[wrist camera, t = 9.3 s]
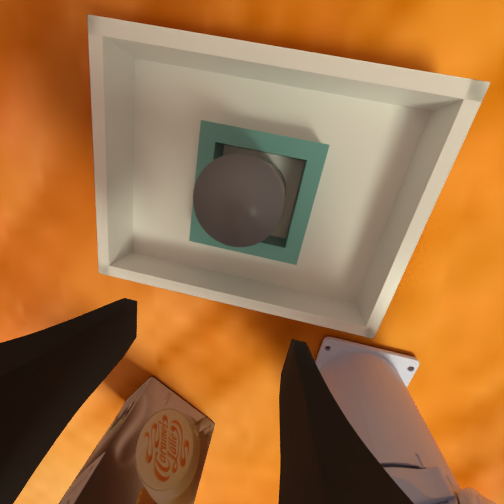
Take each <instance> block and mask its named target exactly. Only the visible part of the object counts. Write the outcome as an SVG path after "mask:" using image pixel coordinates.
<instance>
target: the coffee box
mask: <svg viewBox="0 0 504 504" xmlns="http://www.w3.org/2000/svg"><path fill="white" fill-rule="evenodd" d="M214 425H215V424H214V423H213V422H212V421H211V420H209V419H208V418H207V417H205V416H204V415H203V414H201V413H200V412H199V411H197V410H196V409H195V408H193V407H192V406H191V405H190V404H188V403H187V402H186V401H184V400H183V399H182V398H180V397H179V396H178V395H176V394H175V393H174V392H172V391H171V390H170V389H168V388H167V387H166V386H164V385H163V384H162V383H160V382H159V381H158V380H157V379H155V378H154V377H150V378H149V379H148V380H147V381H146V382H145V383H144V384H142V385H141V386H140V387H139V388H138V389H137V390H136V391H135V392H134V393H133V394H132V395H131V396H130V397H129V398H128V399H127V400H126V401H125V403H124V405H123V407H122V408H121V410H120V412H119V413H118V415H117V416H116V418H115V420H114V421H113V423H112V424H111V426H110V427H109V429H108V430H107V432H106V433H105V435H104V436H103V438H102V439H101V441H100V442H99V443H98V445H97V446H96V448H95V449H94V451H93V452H92V454H91V455H90V457H89V459H88V460H87V462H86V463H85V465H84V466H83V468H82V469H81V471H80V472H79V474H78V475H77V477H76V478H75V480H74V481H73V483H72V484H71V486H70V487H69V489H68V490H67V492H66V493H65V495H64V496H63V498H62V500H61V501H60V503H59V504H194V501H195V497H196V493H197V489H198V486H199V482H200V478H201V475H202V471H203V467H204V463H205V459H206V455H207V452H208V448H209V444H210V441H211V437H212V433H213V430H214Z"/></svg>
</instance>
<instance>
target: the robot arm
mask: <svg viewBox="0 0 504 504" xmlns="http://www.w3.org/2000/svg"><path fill="white" fill-rule="evenodd" d="M136 332H137V301H134V300H130V299H126V298H124V299H121V300H118V301H115V302H113V303H110V304H108V305H106V306H103V307H101V308H98V309H96V310H93V311H91V312H88V313H86V314H84V315H81V316H79V317H76V318H74V319H71V320H68V321H66V322H63V323H60V324H58V325H55V326H52V327H50V328H47V329H44V330H41V331H38V332H35V333H32V334H29V335H26V336H23V337H19V338H16V339H13V340H9V341H6V342H2V343H0V504H13V503H14V501H15V500H16V498H17V497H18V495H19V494H20V492H21V491H22V489H23V488H24V486H25V485H26V483H27V482H28V480H29V479H30V477H31V476H32V474H33V473H34V471H35V470H36V468H37V467H38V465H39V464H40V462H41V461H42V459H43V458H44V457H45V455H46V454H47V452H48V451H49V449H50V448H51V446H52V445H53V444H54V442H55V441H56V439H57V438H58V436H59V435H60V434H61V432H62V431H63V430H64V428H65V427H66V425H67V424H68V423H69V421H70V420H71V419H72V417H73V416H74V414H75V413H76V412H77V411H78V409H79V408H80V407H81V406H82V404H83V403H84V402H85V401H86V400H87V399H88V397H89V396H90V395H91V394H92V393H93V392H94V390H95V389H96V388H97V387H98V386H99V385H100V383H101V382H102V381H103V380H104V379H105V378H106V377H107V375H108V374H109V373H110V372H111V371H112V369H113V368H114V367H115V366H116V365H117V364H118V362H119V361H120V360H121V359H122V358H123V356H124V355H125V353H126V352H127V351H128V349H129V348H130V346H131V344H132V343H133V341H134V340H135V338H136ZM326 346H329V348H326ZM419 364H420V363H419V361H418V359H417V358H416V357H413V356H409V355H404V354H400V353H396V352H392V351H388V350H384V349H380V348H375V347H371V346H367V345H363V344H359V343H355V342H351V341H347V340H342V339H338V338H334V337H329V336H328V337H325V338H324V339H323V342H322V344H321V347H320V350H319V353H318V355H317V358H316V361H314V359H313V357H312V355H311V352H310V350H309V348H308V346H307V344H306V342H302V341H298V340H294V339H292V340H291V344H290V347H289V350H288V353H287V357H286V360H285V363H284V366H283V370H282V373H281V383H280V395H279V409H280V452H281V468H280V489H279V504H495V503H494V502H493V501H491V500H489V499H488V498H486V497H484V496H482V495H480V494H479V493H478V492H477V491H476V490H474V489H473V488H465V489H462V490H461V489H460V487H459V485H458V483H457V481H456V479H455V478H454V476H453V474H452V472H451V470H450V468H449V466H448V464H447V463H446V461H445V459H444V457H443V455H442V453H441V451H440V450H439V448H438V446H437V444H436V442H435V440H434V438H433V436H432V435H431V433H430V431H429V429H428V427H427V425H426V423H425V421H424V420H423V418H422V416H421V414H420V412H419V410H418V408H417V406H416V405H415V403H414V401H413V399H412V397H411V395H410V393H409V391H408V390H407V386H408V384H409V382H410V381H411V379H412V377H413V375H414V374H415V372H416V370H417V368H418V367H419ZM410 366H411V367H410ZM408 367H410V368H408Z"/></svg>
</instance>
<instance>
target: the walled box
mask: <svg viewBox="0 0 504 504" xmlns="http://www.w3.org/2000/svg"><path fill="white" fill-rule="evenodd" d="M87 20H88V42H89V64H90V86H91V108H92V130H93V152H94V174H95V196H96V218H97V241H98V263H99V273H101V274H105V275H109V276H113V277H117V278H122V279H126V280H130V281H134V282H138V283H142V284H147V285H151V286H155V287H159V288H163V289H167V290H172V291H176V292H180V293H184V294H188V295H193V296H197V297H201V298H205V299H209V300H213V301H218V302H222V303H226V304H230V305H234V306H238V307H243V308H247V309H251V310H255V311H259V312H264V313H268V314H272V315H276V316H280V317H284V318H289V319H293V320H297V321H301V322H305V323H309V324H314V325H318V326H322V327H326V328H330V329H334V330H339V331H343V332H347V333H351V334H355V335H360V336H364V337H368V338H372V339H374V337H375V335H376V333H377V330H378V328H379V326H380V324H381V322H382V319H383V317H384V315H385V313H386V311H387V308H388V306H389V304H390V302H391V300H392V297H393V295H394V293H395V291H396V289H397V287H398V284H399V282H400V280H401V278H402V276H403V273H404V271H405V269H406V267H407V265H408V262H409V260H410V258H411V256H412V254H413V251H414V249H415V247H416V245H417V243H418V240H419V238H420V236H421V234H422V232H423V229H424V227H425V225H426V223H427V221H428V218H429V216H430V214H431V212H432V210H433V208H434V205H435V203H436V201H437V199H438V197H439V194H440V192H441V190H442V188H443V186H444V183H445V181H446V179H447V177H448V175H449V172H450V170H451V168H452V166H453V164H454V161H455V159H456V157H457V155H458V153H459V150H460V148H461V146H462V144H463V142H464V140H465V137H466V135H467V133H468V131H469V129H470V126H471V124H472V122H473V120H474V118H475V115H476V113H477V111H478V109H479V107H480V104H481V102H482V100H483V98H484V96H485V93H486V91H487V89H488V87H489V85H490V82H485V81H479V80H473V79H468V78H462V77H456V76H450V75H444V74H438V73H432V72H426V71H420V70H414V69H408V68H403V67H397V66H391V65H385V64H379V63H373V62H367V61H361V60H355V59H349V58H343V57H338V56H332V55H326V54H320V53H314V52H308V51H302V50H296V49H290V48H284V47H278V46H272V45H267V44H261V43H255V42H249V41H243V40H237V39H231V38H225V37H219V36H213V35H207V34H202V33H196V32H190V31H184V30H178V29H172V28H166V27H160V26H154V25H148V24H142V23H136V22H131V21H125V20H119V19H113V18H107V17H101V16H95V15H89V14H87ZM229 154H244V155H249V156H252V157H255V158H259V159H262V160H265V161H268V162H270V163H272V164H273V165H275V166H276V167H277V168H278V169H279V170H280V171H281V173H282V175H283V177H284V179H285V183H286V195H285V201H284V206H283V212H282V215H281V219H280V221H279V223H278V225H277V227H276V228H275V230H274V231H273V232H272V233H271V234H270V235H269V236H268V237H267V238H266V239H265V240H263V241H261V242H260V243H257V244H255V245H252V246H248V247H232V246H228V245H225V244H222V243H220V242H218V241H216V240H215V239H213V238H212V237H211V236H209V235H208V234H207V233H206V232H205V230H204V229H203V228H202V226H201V225H200V223H199V221H198V220H197V217H196V215H195V211H194V207H193V191H194V186H195V183H196V181H197V178H198V176H199V175H200V173H201V172H202V170H203V169H204V168H205V167H206V166H207V165H208V164H209V163H210V162H212V161H213V160H215V159H217V158H219V157H221V156H224V155H229Z"/></svg>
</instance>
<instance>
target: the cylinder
mask: <svg viewBox="0 0 504 504" xmlns="http://www.w3.org/2000/svg"><path fill="white" fill-rule="evenodd" d="M285 195H286V183H285V179H284V177H283V175H282V173H281V171H280V170H279V169H278V168H277V167H276V166H275V165H273V164H272V163H270V162H268V161H265V160H262V159H259V158H255V157H252V156H249V155H244V154H229V155H224V156H221V157H219V158H217V159H215V160H213V161H212V162H210V163H209V164H208V165H207V166H206V167H205V168H204V169H203V170H202V172H201V173H200V175H199V176H198V178H197V181H196V183H195V186H194V191H193V207H194V211H195V215H196V217H197V220H198V221H199V223H200V225H201V226H202V228H203V229H204V230H205V232H206V233H207V234H208V235H209V236H211V237H212V238H213V239H215V240H216V241H218V242H220V243H222V244H225V245H228V246H232V247H248V246H252V245H255V244H257V243H260V242H261V241H263V240H265V239H266V238H267V237H268V236H269V235H270V234H271V233H272V232H273V231H274V230H275V228H276V227H277V225H278V223H279V221H280V219H281V215H282V212H283V206H284V201H285Z"/></svg>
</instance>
